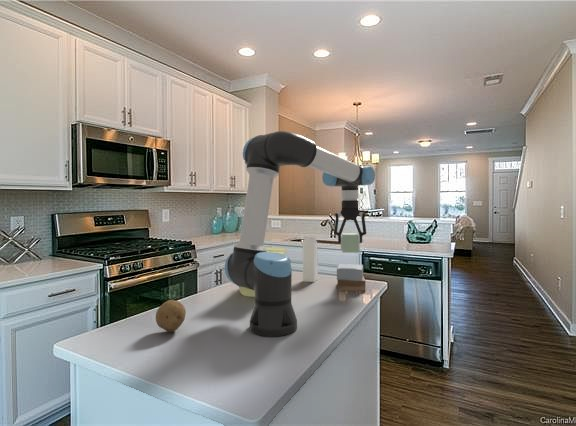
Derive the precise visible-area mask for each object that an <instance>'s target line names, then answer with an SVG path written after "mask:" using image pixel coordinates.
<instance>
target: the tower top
mask: <svg viewBox="0 0 576 426" xmlns="http://www.w3.org/2000/svg"><path fill="white" fill-rule="evenodd" d="M363 276H364V264H350V263H349V264H347V263H346V264H345V263H339V264H338V266H337V267H336V280H354V281H362V278H363Z"/></svg>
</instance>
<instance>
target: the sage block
mask: <svg viewBox="0 0 576 426" xmlns="http://www.w3.org/2000/svg"><path fill="white" fill-rule="evenodd" d="M341 236H342V241H343V250H341V251H342V253H356V254H357V253H359V252H360V251H359V233H358V232H342V233H341Z"/></svg>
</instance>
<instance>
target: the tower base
mask: <svg viewBox="0 0 576 426" xmlns="http://www.w3.org/2000/svg"><path fill="white" fill-rule="evenodd" d="M336 280H337V279H336ZM337 291H341V292H342V291H343V292H345V291H346V292H366V279H365V276H364V275H363V278H362V281H354V280H337Z"/></svg>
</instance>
